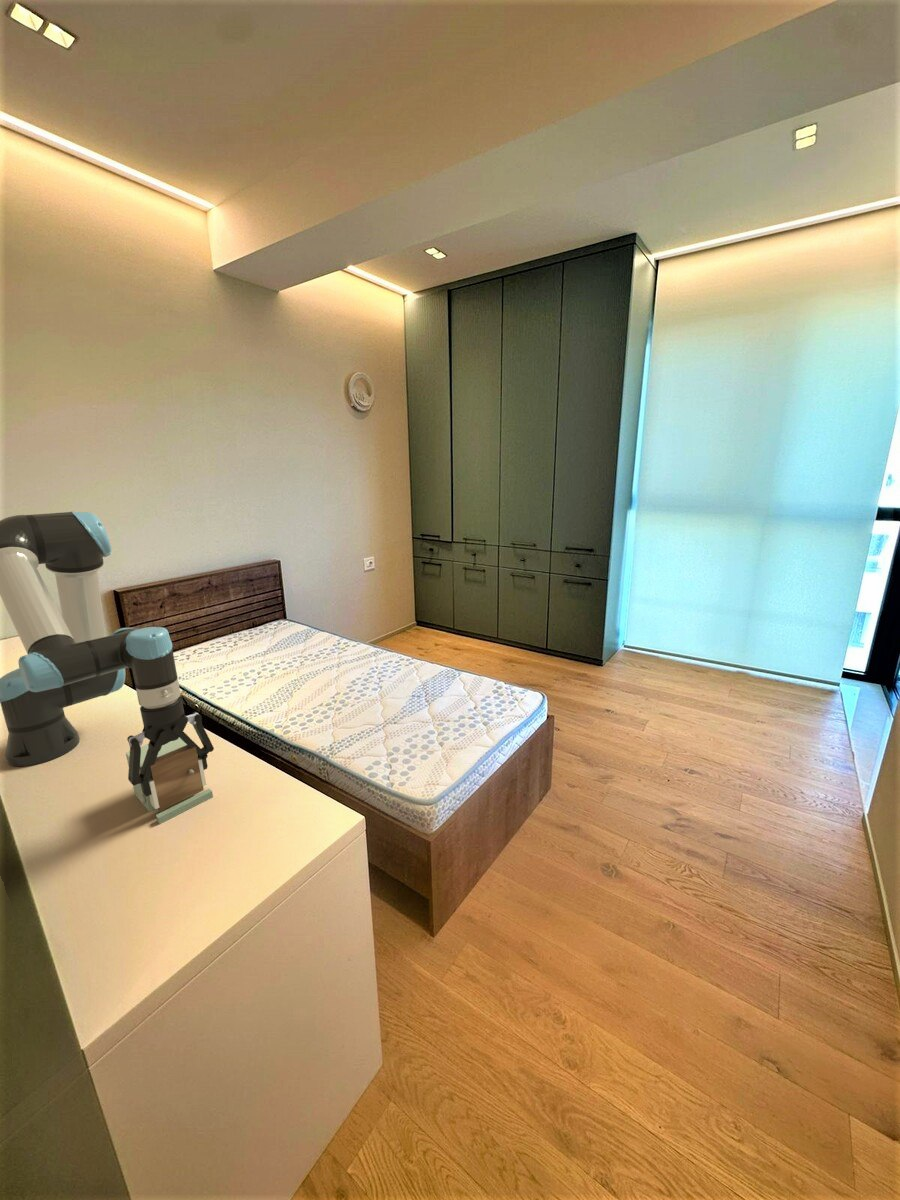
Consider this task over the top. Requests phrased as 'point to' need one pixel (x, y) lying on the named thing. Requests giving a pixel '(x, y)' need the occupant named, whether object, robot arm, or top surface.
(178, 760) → the brown boxy piece
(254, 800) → the top surface
